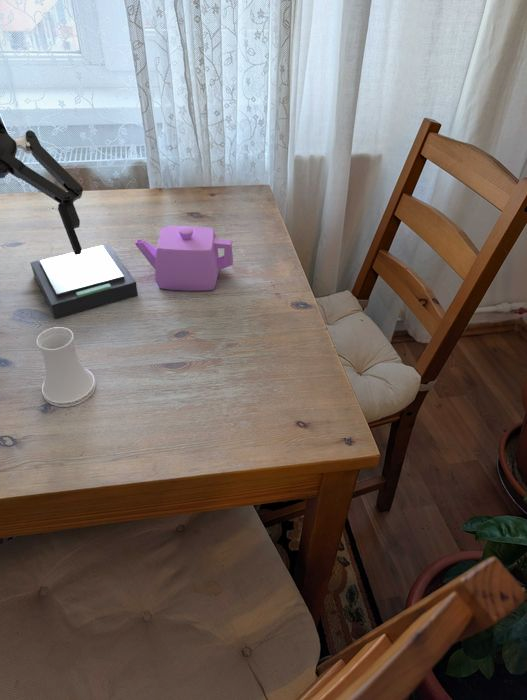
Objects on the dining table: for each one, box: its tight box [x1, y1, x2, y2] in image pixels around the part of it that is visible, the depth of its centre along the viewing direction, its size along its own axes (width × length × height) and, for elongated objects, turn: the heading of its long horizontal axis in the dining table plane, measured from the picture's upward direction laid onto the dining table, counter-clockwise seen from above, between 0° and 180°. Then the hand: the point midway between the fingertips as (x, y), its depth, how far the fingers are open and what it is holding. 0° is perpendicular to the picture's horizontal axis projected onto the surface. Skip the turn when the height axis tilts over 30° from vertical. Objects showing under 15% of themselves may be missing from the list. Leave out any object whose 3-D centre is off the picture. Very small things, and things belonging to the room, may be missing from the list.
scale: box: [30, 243, 139, 320], centre depth 97 cm, size 15×15×4 cm
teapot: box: [134, 225, 234, 292], centre depth 98 cm, size 18×10×10 cm, turn 91°
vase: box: [35, 326, 97, 408], centre depth 75 cm, size 8×8×10 cm
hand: (26, 266), depth 68 cm, fingers open, 13 cm apart
